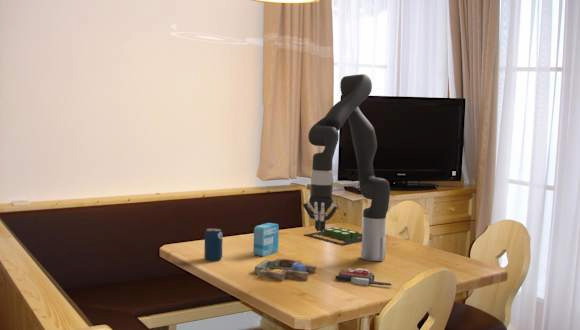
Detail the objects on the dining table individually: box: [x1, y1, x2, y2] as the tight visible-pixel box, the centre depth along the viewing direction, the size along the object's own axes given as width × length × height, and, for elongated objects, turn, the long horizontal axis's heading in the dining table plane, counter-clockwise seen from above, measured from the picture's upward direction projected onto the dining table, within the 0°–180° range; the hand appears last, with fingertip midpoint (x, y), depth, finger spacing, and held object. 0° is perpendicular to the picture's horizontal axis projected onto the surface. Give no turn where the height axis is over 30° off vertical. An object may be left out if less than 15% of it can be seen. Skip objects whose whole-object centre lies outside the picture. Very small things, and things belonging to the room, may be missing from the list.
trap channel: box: [254, 257, 317, 282], centre depth 218 cm, size 20×20×2 cm
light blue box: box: [253, 222, 280, 257], centre depth 245 cm, size 12×4×12 cm, turn 149°
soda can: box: [203, 227, 224, 262], centre depth 233 cm, size 7×7×12 cm
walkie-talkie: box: [334, 267, 392, 287], centre depth 210 cm, size 9×4×20 cm
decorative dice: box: [291, 262, 306, 272], centre depth 216 cm, size 4×4×4 cm
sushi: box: [303, 226, 362, 247], centre depth 281 cm, size 25×25×4 cm
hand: (319, 230), depth 212 cm, fingers closed
